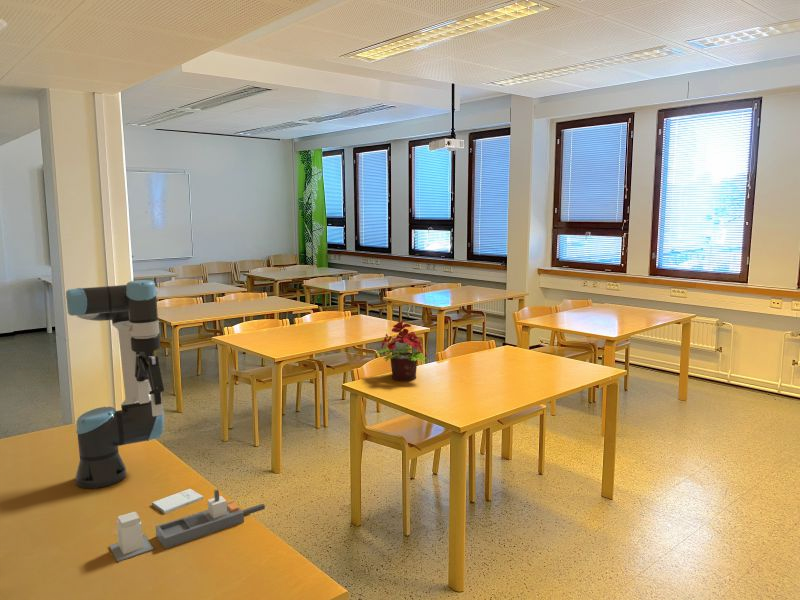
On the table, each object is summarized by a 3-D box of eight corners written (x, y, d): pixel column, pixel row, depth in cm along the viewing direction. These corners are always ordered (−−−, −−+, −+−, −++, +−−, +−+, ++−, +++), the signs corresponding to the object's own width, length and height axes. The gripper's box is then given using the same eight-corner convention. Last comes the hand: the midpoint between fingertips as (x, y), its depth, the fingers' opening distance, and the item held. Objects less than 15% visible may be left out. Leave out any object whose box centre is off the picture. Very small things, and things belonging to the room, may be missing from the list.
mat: (109, 546, 162) (109, 545, 162) (144, 535, 168) (144, 534, 168) (117, 562, 155) (117, 560, 155) (153, 549, 161) (153, 548, 161)
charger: (118, 546, 162) (116, 516, 161) (138, 539, 165) (136, 510, 164) (123, 554, 158) (120, 524, 157) (144, 547, 161) (141, 517, 160)
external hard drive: (152, 506, 185) (190, 492, 194) (164, 515, 179) (203, 500, 188) (151, 501, 185) (189, 487, 194) (164, 510, 179) (202, 495, 188)
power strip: (165, 549, 161) (162, 513, 159) (156, 536, 167) (153, 502, 166) (269, 513, 179) (268, 481, 177) (258, 503, 185) (256, 472, 184)
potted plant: (429, 371, 327) (428, 316, 323) (426, 386, 301) (426, 327, 296) (374, 371, 330) (373, 316, 325) (367, 385, 304) (366, 326, 299)
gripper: (119, 330, 177) (126, 400, 181) (143, 345, 158) (149, 423, 161) (146, 327, 182) (152, 395, 185) (172, 341, 162) (178, 417, 166)
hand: (151, 408), depth 173 cm, fingers open, 13 cm apart
